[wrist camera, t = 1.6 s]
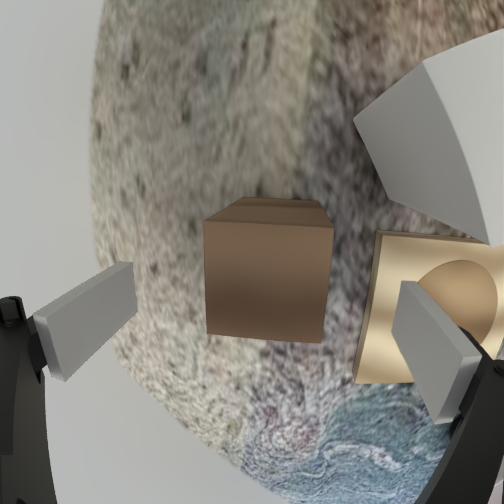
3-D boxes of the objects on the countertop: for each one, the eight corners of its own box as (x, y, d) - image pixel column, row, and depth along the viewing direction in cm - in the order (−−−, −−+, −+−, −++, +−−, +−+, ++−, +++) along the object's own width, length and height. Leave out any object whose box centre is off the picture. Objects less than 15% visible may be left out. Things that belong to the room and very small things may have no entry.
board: (376, 229, 24) (383, 235, 22) (516, 243, 22) (529, 249, 20) (352, 371, 28) (355, 384, 26) (481, 364, 26) (488, 375, 24)
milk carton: (388, 200, 23) (555, 286, 5) (351, 119, 22) (476, 17, 4) (455, 168, 21) (639, 200, 3) (422, 91, 20) (584, 12, 2)
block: (243, 197, 25) (203, 221, 14) (318, 200, 24) (334, 228, 14) (242, 268, 27) (206, 333, 16) (313, 272, 26) (321, 343, 15)
